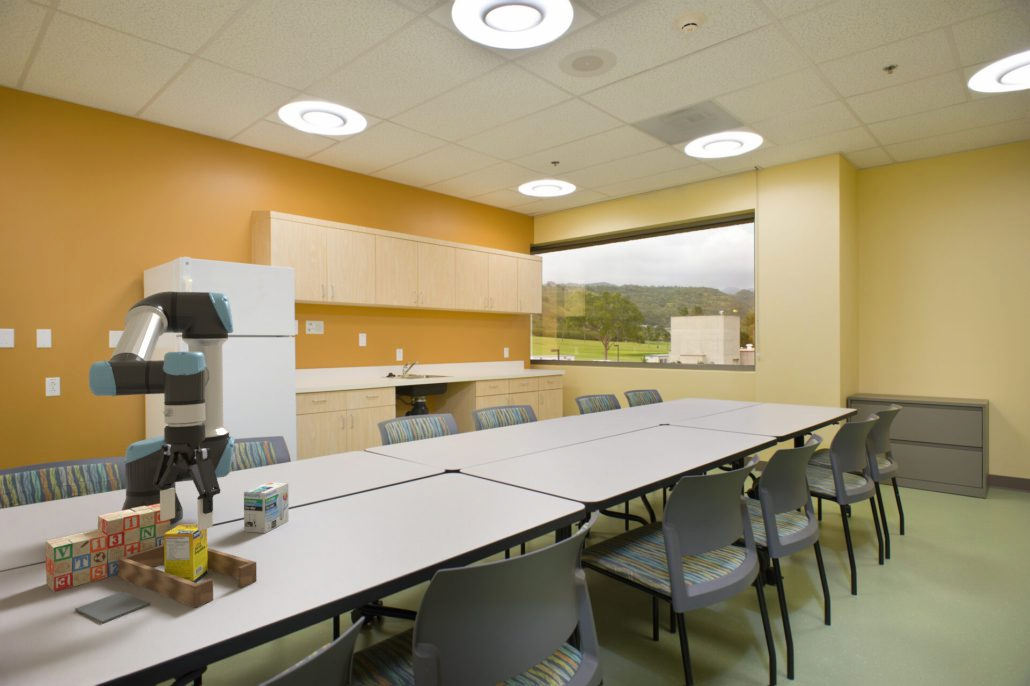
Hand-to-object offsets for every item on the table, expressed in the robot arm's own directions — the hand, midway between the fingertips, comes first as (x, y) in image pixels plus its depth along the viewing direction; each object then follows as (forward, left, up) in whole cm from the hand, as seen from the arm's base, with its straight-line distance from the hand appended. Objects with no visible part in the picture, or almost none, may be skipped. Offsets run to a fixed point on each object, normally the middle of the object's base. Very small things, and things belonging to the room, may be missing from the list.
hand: (185, 523), depth 117 cm
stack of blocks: (-19, -5, -12) cm, 24 cm away
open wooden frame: (0, 0, -12) cm, 12 cm away
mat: (0, -14, -12) cm, 18 cm away
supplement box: (0, 0, -12) cm, 12 cm away
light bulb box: (-14, +30, -12) cm, 36 cm away
